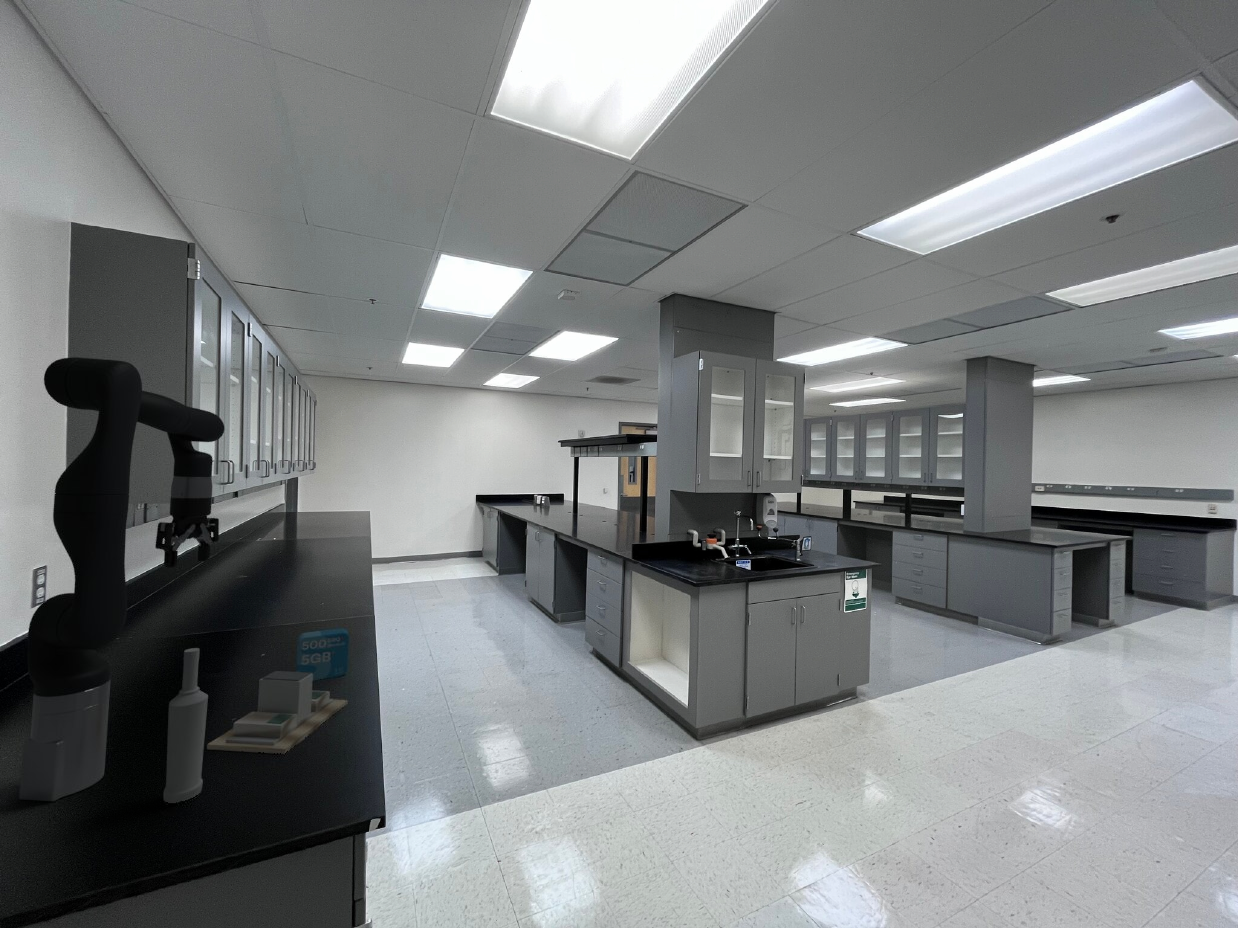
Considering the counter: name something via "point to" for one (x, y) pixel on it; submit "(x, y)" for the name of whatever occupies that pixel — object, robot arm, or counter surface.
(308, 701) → the block
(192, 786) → the bottle
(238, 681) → the counter surface
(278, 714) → the rail board
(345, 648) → the data package
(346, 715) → the counter surface
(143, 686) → the counter surface
